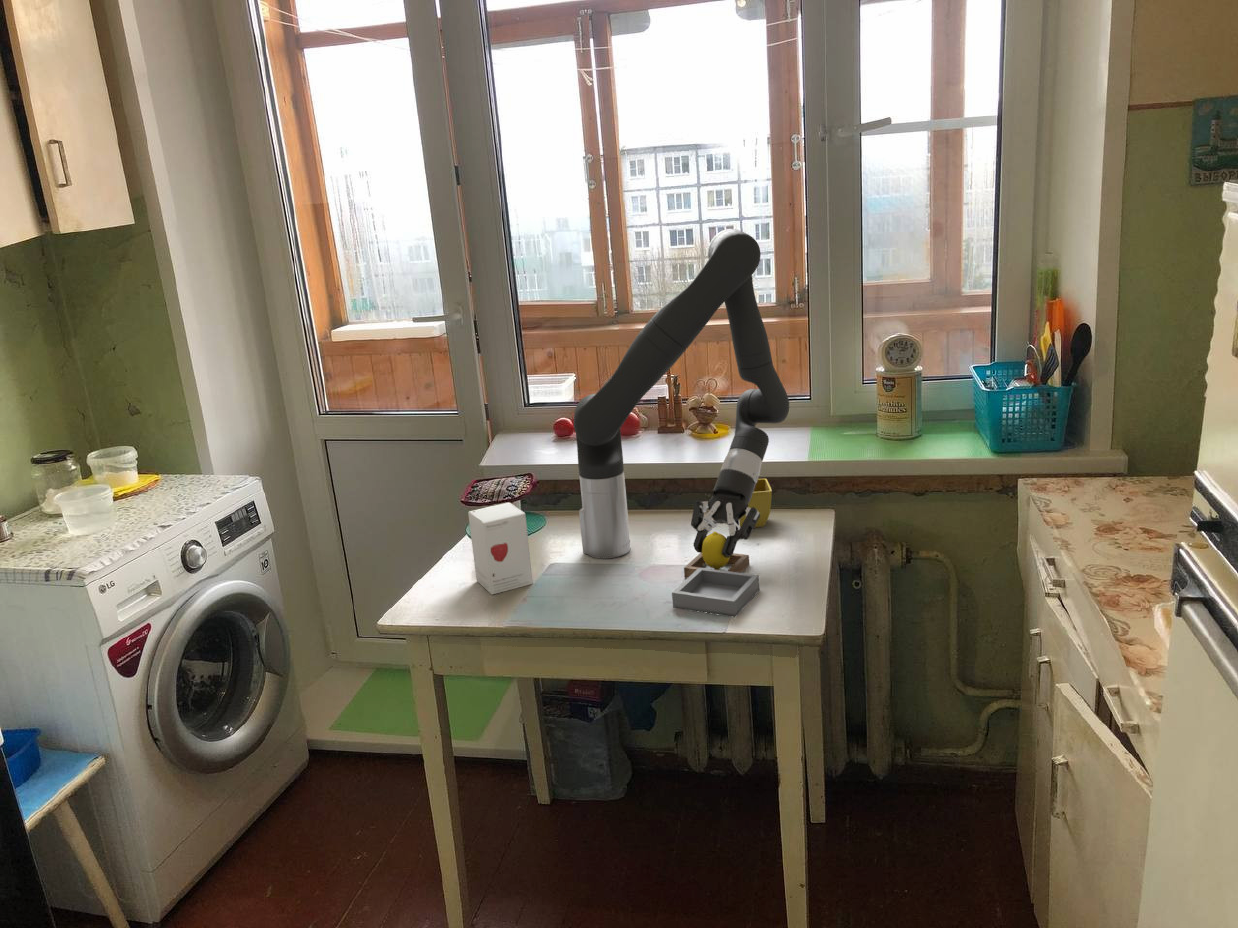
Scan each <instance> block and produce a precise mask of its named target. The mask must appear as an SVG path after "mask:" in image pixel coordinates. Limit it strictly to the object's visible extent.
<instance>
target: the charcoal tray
mask: <svg viewBox="0 0 1238 928" xmlns="http://www.w3.org/2000/svg"><path fill="white" fill-rule="evenodd" d="M707 568H708V567H707ZM707 568H706V567H701V568H698V569H697V570H696V571H695V572H694V573H693V574H692V575H690V576H689V577H688V578H686V579H685V580H684V581H683V582H681V584H679V585H678V587H676V588H675V589H674V590H673V591H672V592H671V597H672V608H673V609H677V610H678V609H679V610H684V611H690V610H692V611H691V612H697V611H699V612H698V613H704V612H707V613H706V614H710V613H712V615H717V614H718V615H717V616H724V617H732V618H736V617H737V616H738V615H739V614H740V612H742V611H743V609H744V608H745V607H746V606H747V605H748V604H749V603H750V601H751V600H752V599H753V598H754V597H755V596H756V595H757V593H758V592H760V575H759V574H753V573H745V572H741V573H739V572H731V571H728V570H724V571H723V570H722V569H719V570H715V569H714V568H708V569H707Z"/></svg>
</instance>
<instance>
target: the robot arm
mask: <svg viewBox="0 0 1238 928" xmlns="http://www.w3.org/2000/svg"><path fill="white" fill-rule="evenodd" d="M761 256H762V255H761V248H760V245H759V243H758V241H757V240H756V239H755V238H754V237H753V236H751V235H750V234H749V233H746V232H744V231H742V230H739V229H734V228H728V229H724V230H721V231H720V232H718V233H716V234H715V235H714V236H713V238H712V239H711V241H710V243H709V245H708V251H707V257H708V258H707V259H708V260H707V261H706V263H705V264H704V266H703V267H702V268H701V270H700V271H699V272H698V274H697V275H696V276H695V278H694V279H692V281H691V283H689V284H688V286H686V287H685V288H684V289H683V290H682V291H680V292H679V293H678V294H676V296H674V297H673V298H671V299H670V300H669V301H668V302H666V303H665V304H664V305H663V306H662V307H660V309H658V310H657V312H656V313H654V314H653V316H652V317H651V318H650V319H649V320H648V321H647V322H646V324H645V325H644V326H643V328H642V329H641V330H640V331H639V332H638V334H637V336H636V337H635V338H634V340H633V341H632V343H631V344H630V346H629V347H628V349H627V351H626V352H625V354H624V356H623V358H622V359H621V361H620V363H619V365H618V366H617V368H616V370H615V371H614V373H612V374H613V375H612V376H611V377H610V378H609V379H608V381H606V383H605V384H604V385H603V386H601V388H600V389H599V390H598V391H597V392H596V393H592V394H588V395H586V396H584V397H583V398H581V399H580V401H579V402H578V403H577V404H576V406H575V409H574V414H573V428H574V432H575V437H576V448H577V449H576V450H577V451H576V452H577V462H578V463H577V464H578V466H577V467H578V475H579V483H580V485H579V486H580V493H581V494H580V496H581V504H582V505H581V507H582V508H580V509H579V511H578V515H579V516H578V517H579V525H580V535H581V537H580V538H581V545H582V553H583V554H586V555H588V556H590V557H592V558H595V559H613V558H618V557H621V556H625V555H626V554H627V553H629V552H630V551H631V538H630V528H629V527H630V526H629V515H628V513H629V512H628V503H627V492H626V491H627V490H626V489H627V488H626V482H625V481H626V479H625V469H624V468H625V467H624V455H623V446H622V445H623V444H622V433H621V428H622V426H623V425H624V423H625V422H626V421H627V419H628V417H629V416H630V415H631V413H632V412H633V410H634V409H635V407H636V406H637V404H638V403H639V402H640V401H641V399H642V398H643V397H644V396H645V395H646V394H647V393H649V391H650V390H651V389H652V388H653V387H654V386H656V384H657V383H658V382H659V381H660V380H661V378H663V376H665V374H666V373H667V372H668V371H669V370H670V369H671V368H672V367H673V366H674V365H675V364H676V362H677V361H678V360H679V359H680V358H681V357H682V355H683V354H684V353H685V352H686V351H687V350H688V348H689V347H690V345H691V344H692V343H693V342H694V341H695V340H696V339H697V337H698V336H699V334H700V333H701V331H702V330H703V329H704V328H705V327H706V325H707V324H708V323H709V322H710V321H711V319H712V317H713V316H714V314H715V313H716V312H717V310H718V309H719V308H720V307H721V306H722V305H723V304H724V305H725V309H726V314H727V318H728V324H729V329H730V335H731V340H732V345H733V350H734V357H735V360H736V361H735V362H736V365H737V371H738V374H739V377H740V378H741V380H743V381H745V382H748V383H751V384H754V385H755V386H756V387H757V388H750V389H747V390H745V391H743V392H742V393H741V394H740V395H739V397H738V400H737V403H736V411H735V415H736V417H735V424H734V425H735V428H734V429H735V430H734V436H733V439H732V441H731V443H730V447H729V449H728V452H727V454H726V456H725V458H724V460H723V462H722V464H721V465H722V466H721V468H720V471H719V474H718V476H717V480H716V481H715V485H714V488H713V492H712V496H710V499H708V500H707V501H701V500H700V499H696V500H695V501H694V506H693V512H692V516H691V521H690V526H691V528H693V529H694V531H696V535H695V539H694V541H693V543H692V544H693V548H694V550H695V551H696V552H697V553H699V554H700V553H702V544H703V541H704V539H705V538H706V537H707V536H708V535H709V534H710V533H711V531H712V530H713V529H715V528H716V527H717V526H718V524H720V525H722V524H725V525H728V533H729V535H727V536H726V542H725V544H724V547H723V550H722V555H723V556H724V557H726V558H729V557H730V555H732V554H733V553H735V549H736V546H737V543H738V541H740V540H742V539H743V540H744V541H745V540H746V541H747V540H748V539H749V538H750V536H751V535H752V532H753V531H754V528H756V527H755V525H756V523H757V521H758V519H759V518H760V513H759V512H758V510H757V509H756V508H754V507H753V508H749V507H748V503H749V502H750V500H751V497H752V494H753V491H754V488H755V486H756V483H757V480H758V479H759V477H760V474H761V468H762V463H763V461H764V458H765V455H766V452H767V450H768V446H769V443H770V439H769V435H768V434H767V433H766V432H765V431H764V430H762V429H761V428H758V427H756V425H757V424H771V425H772V424H780V423H782V422H784V421H785V420H786V418H787V417H788V415H789V411H790V399H789V397H788V393H787V391H786V389H785V387H784V385H783V383H782V381H781V378H780V377H779V375H778V372H777V371H776V369H775V367H774V364H773V358H772V352H771V348H770V347H771V346H770V341H769V337H768V333H767V331H766V327H765V324H764V321H763V319H762V315H761V312H760V309H759V306H758V303H757V299H756V294H755V289H754V284H753V274H754V273H755V272H756V270H757V269H758V267H759V265H760V262H761ZM707 510H709V511H708V512H707ZM705 513H706V514H705ZM704 514H705V516H704ZM745 514H746V518H745V520H744V522H743V524H742V526H741V528H740V521H739V519H740V518H742V517H743V516H744V515H745Z"/></svg>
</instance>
